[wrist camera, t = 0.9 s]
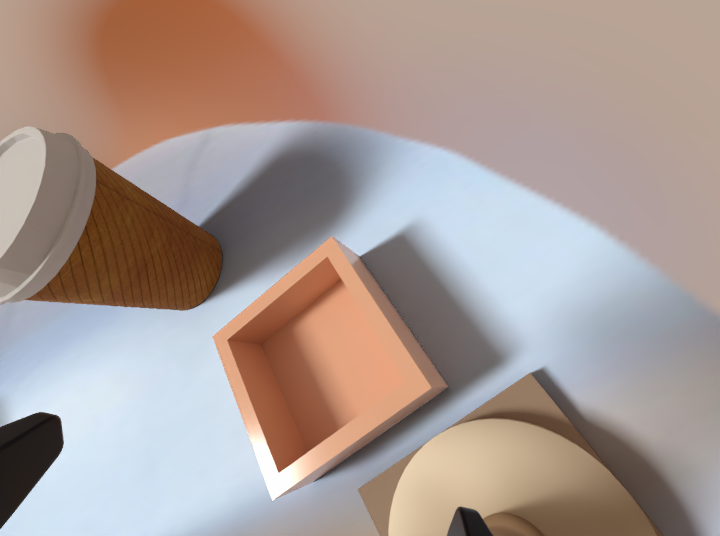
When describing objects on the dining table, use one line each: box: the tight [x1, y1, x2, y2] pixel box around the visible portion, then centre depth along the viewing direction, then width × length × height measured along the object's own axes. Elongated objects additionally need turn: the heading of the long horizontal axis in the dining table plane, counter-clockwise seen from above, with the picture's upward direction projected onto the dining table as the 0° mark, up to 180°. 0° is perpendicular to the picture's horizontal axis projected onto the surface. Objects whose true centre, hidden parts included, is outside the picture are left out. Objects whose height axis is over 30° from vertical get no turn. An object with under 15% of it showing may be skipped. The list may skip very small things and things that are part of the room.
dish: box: [213, 236, 448, 500], centre depth 19 cm, size 9×9×4 cm
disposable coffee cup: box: [0, 127, 222, 310], centre depth 23 cm, size 10×10×12 cm
